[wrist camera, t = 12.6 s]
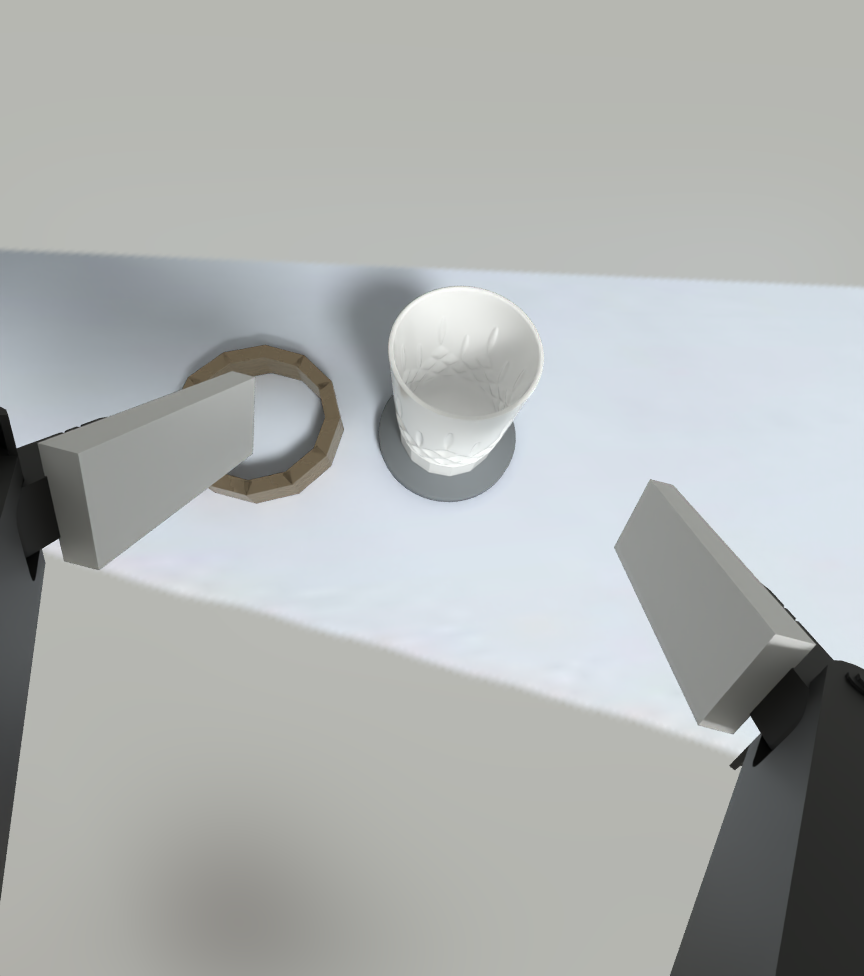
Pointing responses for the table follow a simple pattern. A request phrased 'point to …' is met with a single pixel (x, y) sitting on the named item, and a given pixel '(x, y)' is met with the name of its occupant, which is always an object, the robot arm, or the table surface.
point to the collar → (329, 435)
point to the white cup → (460, 374)
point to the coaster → (439, 484)
